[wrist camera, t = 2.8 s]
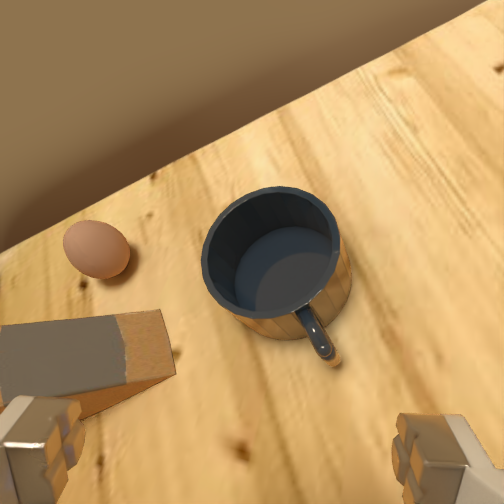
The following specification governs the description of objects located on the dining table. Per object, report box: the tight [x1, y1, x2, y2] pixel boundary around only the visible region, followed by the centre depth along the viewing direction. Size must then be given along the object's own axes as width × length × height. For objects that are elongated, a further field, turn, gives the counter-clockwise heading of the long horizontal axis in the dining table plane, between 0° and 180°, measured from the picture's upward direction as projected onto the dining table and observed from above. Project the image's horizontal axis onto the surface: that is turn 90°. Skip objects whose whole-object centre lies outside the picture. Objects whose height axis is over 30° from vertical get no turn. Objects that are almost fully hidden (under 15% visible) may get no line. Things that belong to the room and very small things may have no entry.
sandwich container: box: [0, 309, 176, 420], centre depth 42 cm, size 9×15×15 cm, turn 110°
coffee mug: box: [201, 186, 352, 367], centre depth 41 cm, size 18×13×8 cm
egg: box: [63, 220, 130, 279], centre depth 50 cm, size 7×7×9 cm
